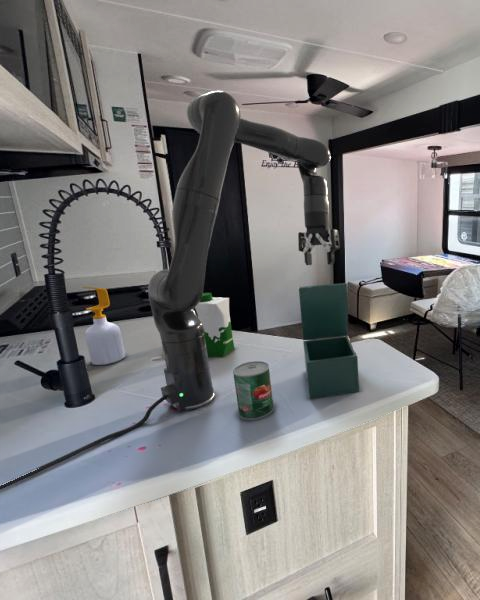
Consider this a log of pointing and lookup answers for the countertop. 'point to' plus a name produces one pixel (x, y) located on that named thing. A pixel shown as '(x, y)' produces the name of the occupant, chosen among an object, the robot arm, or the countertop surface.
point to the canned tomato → (253, 390)
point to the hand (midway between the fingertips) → (319, 264)
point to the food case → (331, 366)
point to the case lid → (323, 310)
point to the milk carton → (216, 324)
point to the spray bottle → (103, 334)
